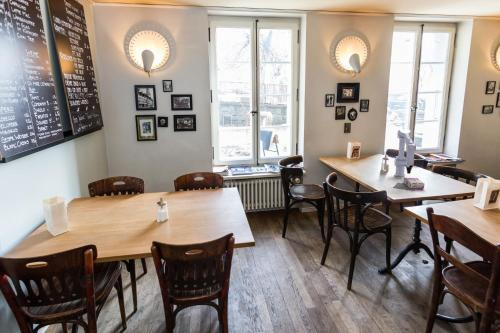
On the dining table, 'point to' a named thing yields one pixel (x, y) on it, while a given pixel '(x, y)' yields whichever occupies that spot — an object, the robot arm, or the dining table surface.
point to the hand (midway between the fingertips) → (408, 173)
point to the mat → (402, 186)
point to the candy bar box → (413, 183)
